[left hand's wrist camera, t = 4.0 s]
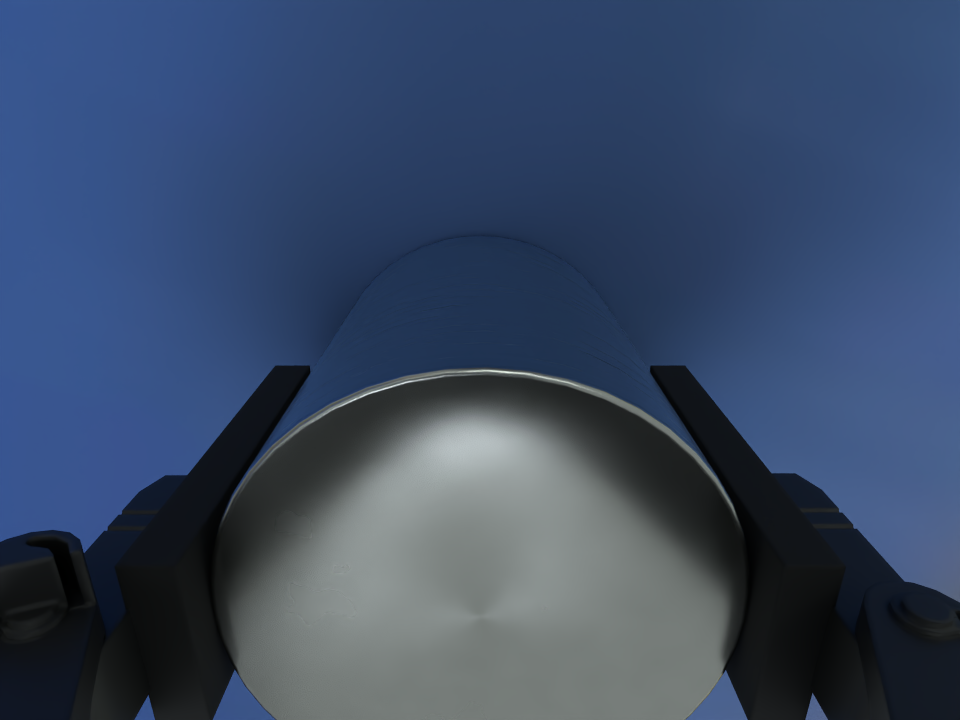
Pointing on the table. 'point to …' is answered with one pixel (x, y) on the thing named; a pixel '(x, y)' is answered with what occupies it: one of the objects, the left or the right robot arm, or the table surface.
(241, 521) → the can
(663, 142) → the table surface
